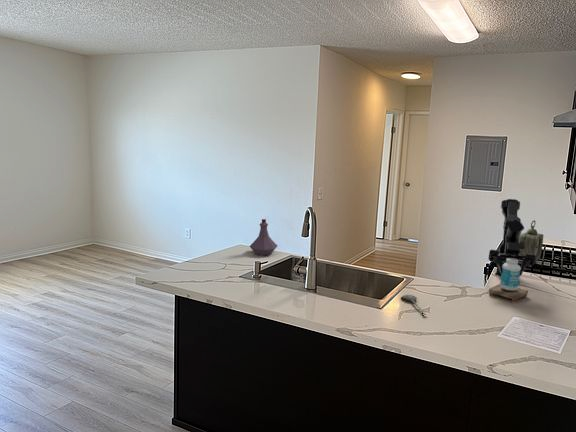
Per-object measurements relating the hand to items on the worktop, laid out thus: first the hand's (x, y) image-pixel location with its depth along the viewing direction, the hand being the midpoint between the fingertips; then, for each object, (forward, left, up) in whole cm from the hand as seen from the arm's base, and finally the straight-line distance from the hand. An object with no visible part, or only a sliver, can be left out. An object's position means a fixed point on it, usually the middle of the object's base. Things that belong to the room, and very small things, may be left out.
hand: (510, 274), depth 200 cm
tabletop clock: (-16, +57, -11) cm, 60 cm away
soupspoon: (-20, -42, -11) cm, 48 cm away
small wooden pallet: (-1, +1, -11) cm, 11 cm away
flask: (-120, -46, -11) cm, 129 cm away
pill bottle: (-1, +1, -7) cm, 7 cm away
